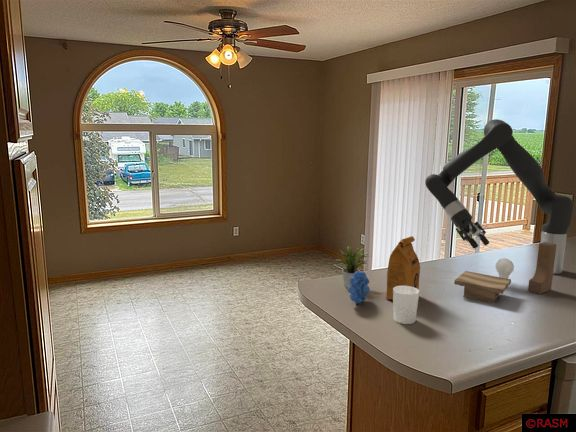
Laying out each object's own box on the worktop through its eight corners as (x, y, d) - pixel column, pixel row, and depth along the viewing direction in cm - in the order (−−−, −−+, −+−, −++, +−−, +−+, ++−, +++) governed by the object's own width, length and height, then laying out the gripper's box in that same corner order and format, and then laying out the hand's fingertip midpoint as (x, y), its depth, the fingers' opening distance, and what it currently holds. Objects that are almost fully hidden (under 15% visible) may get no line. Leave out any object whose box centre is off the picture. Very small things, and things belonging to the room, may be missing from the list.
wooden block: (539, 294, 159) (545, 247, 156) (527, 291, 163) (532, 244, 159) (551, 289, 164) (557, 244, 161) (539, 286, 168) (544, 241, 164)
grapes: (360, 311, 142) (361, 277, 140) (343, 306, 147) (344, 272, 145) (377, 301, 151) (379, 269, 149) (361, 297, 155) (362, 265, 153)
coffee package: (423, 296, 157) (427, 237, 153) (407, 306, 147) (411, 243, 143) (398, 289, 163) (401, 233, 159) (381, 298, 154) (384, 239, 150)
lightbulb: (490, 283, 171) (493, 256, 169) (505, 283, 172) (508, 256, 170) (499, 289, 165) (502, 261, 163) (515, 288, 165) (518, 261, 163)
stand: (464, 285, 168) (465, 270, 167) (509, 294, 159) (511, 279, 158) (453, 295, 157) (454, 280, 156) (501, 306, 148) (502, 289, 147)
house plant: (360, 296, 156) (362, 252, 153) (326, 289, 163) (327, 247, 160) (374, 285, 168) (376, 244, 165) (342, 278, 175) (343, 239, 172)
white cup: (389, 322, 134) (391, 292, 132) (393, 313, 141) (395, 284, 140) (415, 327, 131) (417, 295, 130) (418, 317, 139) (420, 287, 137)
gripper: (454, 210, 173) (479, 243, 166) (473, 206, 182) (498, 238, 175) (442, 220, 178) (465, 253, 171) (461, 217, 187) (484, 248, 180)
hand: (482, 245), depth 173 cm, fingers open, 8 cm apart
